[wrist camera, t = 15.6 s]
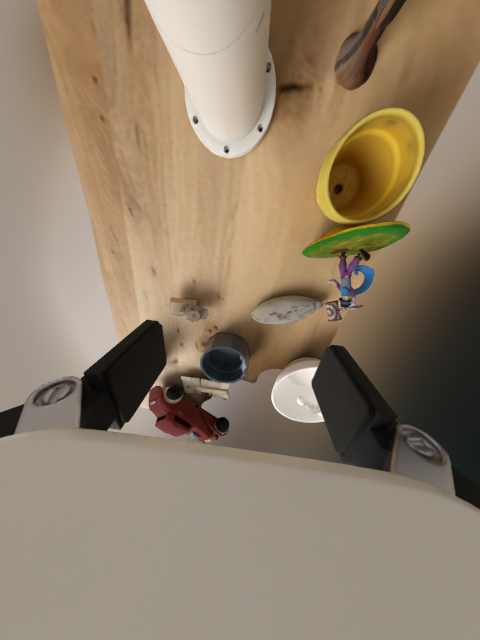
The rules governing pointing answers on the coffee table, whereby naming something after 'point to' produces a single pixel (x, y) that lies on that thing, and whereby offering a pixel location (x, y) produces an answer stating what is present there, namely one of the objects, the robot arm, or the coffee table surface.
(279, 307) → the decorative stone
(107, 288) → the coffee table surface
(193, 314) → the toy character
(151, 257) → the coffee table surface
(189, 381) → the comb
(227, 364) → the dark blue cup
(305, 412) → the bowl
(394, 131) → the flower pot
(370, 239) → the pirate figurine
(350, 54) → the brown ridged tall piece
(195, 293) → the coffee table surface
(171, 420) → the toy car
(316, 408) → the fairy figurine
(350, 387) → the robot arm
